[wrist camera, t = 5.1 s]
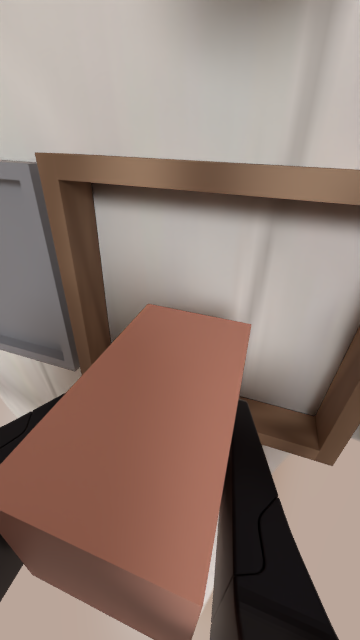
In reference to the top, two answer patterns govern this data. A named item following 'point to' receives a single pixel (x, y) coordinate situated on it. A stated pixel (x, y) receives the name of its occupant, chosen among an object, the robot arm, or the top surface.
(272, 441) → the frame
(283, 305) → the top surface
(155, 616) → the brick block
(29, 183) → the charcoal tray
